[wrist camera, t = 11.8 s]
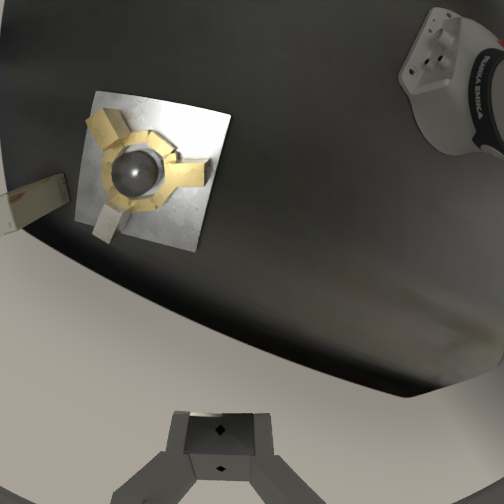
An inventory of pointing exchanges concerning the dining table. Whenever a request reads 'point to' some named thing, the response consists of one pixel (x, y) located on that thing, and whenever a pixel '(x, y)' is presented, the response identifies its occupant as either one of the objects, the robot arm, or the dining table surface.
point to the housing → (154, 168)
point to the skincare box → (31, 202)
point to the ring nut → (115, 142)
